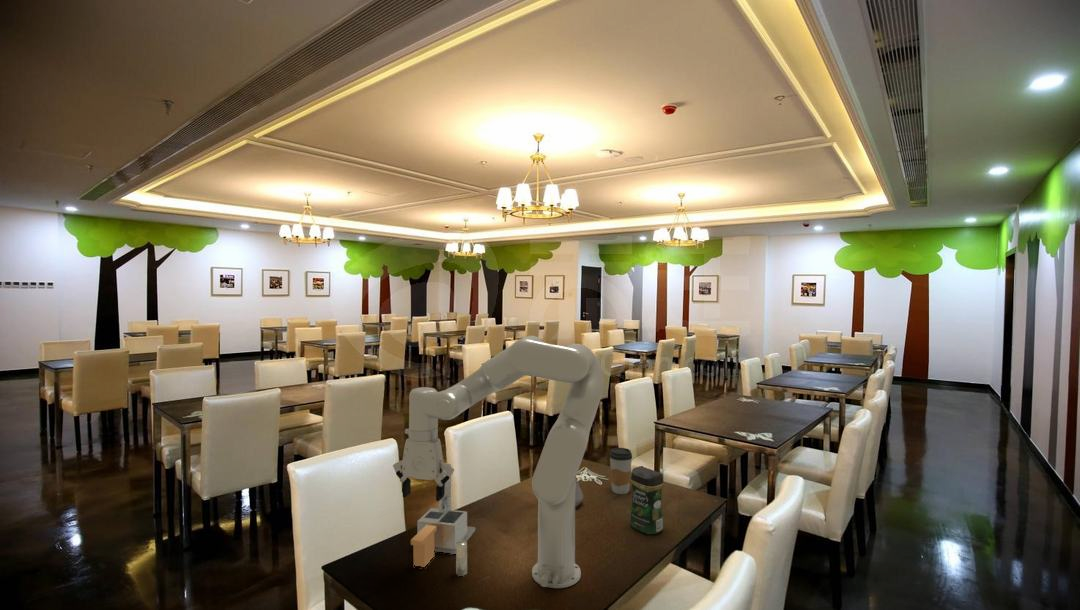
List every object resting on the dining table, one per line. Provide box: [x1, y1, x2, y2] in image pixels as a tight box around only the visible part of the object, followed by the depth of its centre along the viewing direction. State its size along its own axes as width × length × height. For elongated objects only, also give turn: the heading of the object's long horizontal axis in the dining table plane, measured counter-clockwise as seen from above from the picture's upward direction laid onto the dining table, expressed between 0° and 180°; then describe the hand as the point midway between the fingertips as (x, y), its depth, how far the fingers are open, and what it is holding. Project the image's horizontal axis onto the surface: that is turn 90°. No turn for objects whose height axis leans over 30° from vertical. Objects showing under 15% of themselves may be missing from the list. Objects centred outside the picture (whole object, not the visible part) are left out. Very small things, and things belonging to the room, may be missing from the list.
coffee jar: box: [630, 465, 664, 535], centre depth 157 cm, size 10×8×19 cm
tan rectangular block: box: [410, 525, 437, 567], centre depth 138 cm, size 9×3×8 cm, turn 167°
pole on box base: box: [416, 463, 476, 555], centre depth 150 cm, size 15×12×20 cm
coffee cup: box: [608, 447, 633, 495], centre depth 187 cm, size 8×8×15 cm
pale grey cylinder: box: [455, 541, 468, 577], centre depth 132 cm, size 3×3×8 cm
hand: (423, 497), depth 137 cm, fingers open, 9 cm apart
